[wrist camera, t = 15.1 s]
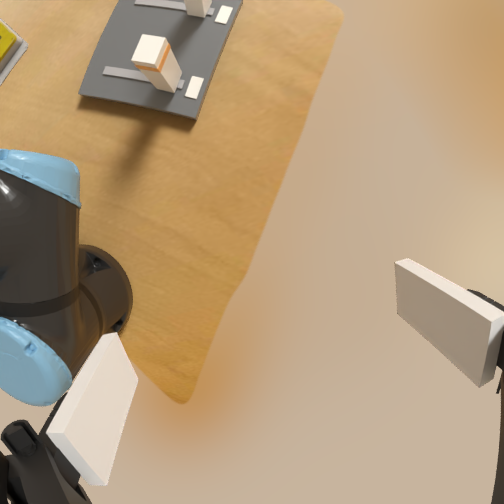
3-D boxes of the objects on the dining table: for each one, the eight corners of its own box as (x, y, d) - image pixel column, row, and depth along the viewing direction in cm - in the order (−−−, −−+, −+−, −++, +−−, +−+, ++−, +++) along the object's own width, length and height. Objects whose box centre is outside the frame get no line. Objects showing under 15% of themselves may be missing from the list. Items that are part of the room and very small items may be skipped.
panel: (242, 3, 36) (243, -4, 34) (196, 120, 40) (195, 117, 38) (133, -14, 33) (129, -21, 31) (83, 96, 38) (77, 93, 35)
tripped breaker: (182, 72, 36) (166, 37, 24) (174, 93, 37) (154, 64, 25) (164, 68, 36) (142, 33, 24) (156, 89, 36) (130, 60, 25)
